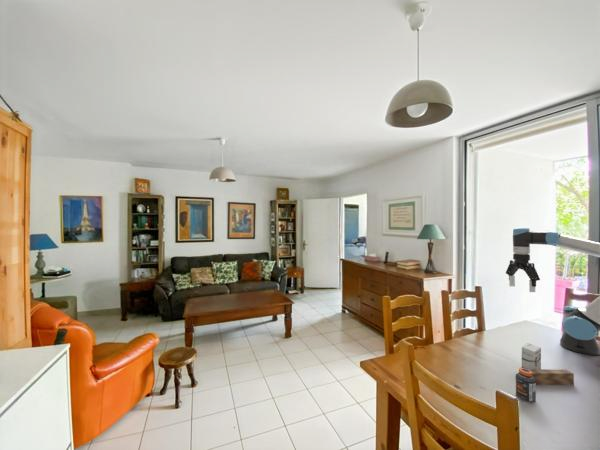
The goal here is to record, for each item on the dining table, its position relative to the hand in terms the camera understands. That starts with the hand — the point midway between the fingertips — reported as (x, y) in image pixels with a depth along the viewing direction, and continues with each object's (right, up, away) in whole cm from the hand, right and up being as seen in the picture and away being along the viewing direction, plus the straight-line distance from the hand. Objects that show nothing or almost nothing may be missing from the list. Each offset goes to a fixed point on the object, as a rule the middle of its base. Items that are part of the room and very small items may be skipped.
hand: (521, 289), depth 148 cm
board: (-23, -31, -39) cm, 55 cm away
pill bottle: (-42, -32, -49) cm, 72 cm away
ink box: (-23, -32, -31) cm, 50 cm away
